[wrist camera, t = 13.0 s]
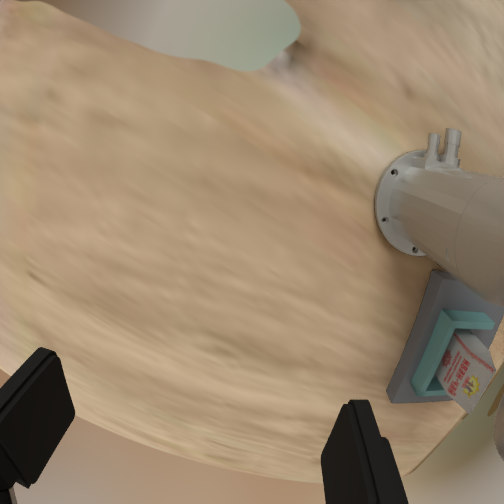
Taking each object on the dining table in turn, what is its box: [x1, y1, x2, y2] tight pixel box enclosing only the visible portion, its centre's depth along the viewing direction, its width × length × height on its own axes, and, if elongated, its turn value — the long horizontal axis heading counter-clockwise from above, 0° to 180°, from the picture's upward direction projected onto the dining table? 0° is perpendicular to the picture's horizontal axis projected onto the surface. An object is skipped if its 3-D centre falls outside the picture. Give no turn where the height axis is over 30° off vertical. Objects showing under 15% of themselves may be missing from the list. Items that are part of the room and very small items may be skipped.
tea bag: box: [435, 328, 496, 414], centre depth 32 cm, size 4×7×10 cm, turn 172°
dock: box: [386, 270, 504, 403], centre depth 37 cm, size 20×14×6 cm
